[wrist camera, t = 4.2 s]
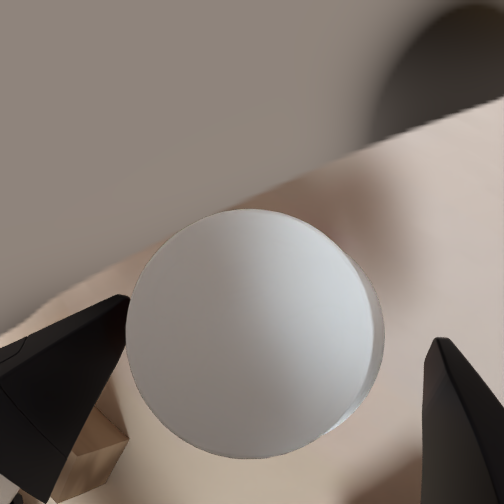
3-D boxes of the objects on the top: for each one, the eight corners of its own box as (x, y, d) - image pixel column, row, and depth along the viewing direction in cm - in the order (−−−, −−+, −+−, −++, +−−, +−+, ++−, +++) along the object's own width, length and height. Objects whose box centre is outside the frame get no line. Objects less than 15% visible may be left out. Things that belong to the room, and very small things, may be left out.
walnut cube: (105, 483, 15) (57, 503, 11) (60, 436, 17) (10, 445, 12) (130, 438, 16) (77, 456, 11) (80, 390, 18) (25, 393, 13)
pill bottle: (216, 358, 16) (57, 363, 6) (276, 260, 17) (195, 133, 7) (315, 420, 14) (285, 545, 4) (378, 316, 15) (470, 263, 5)
